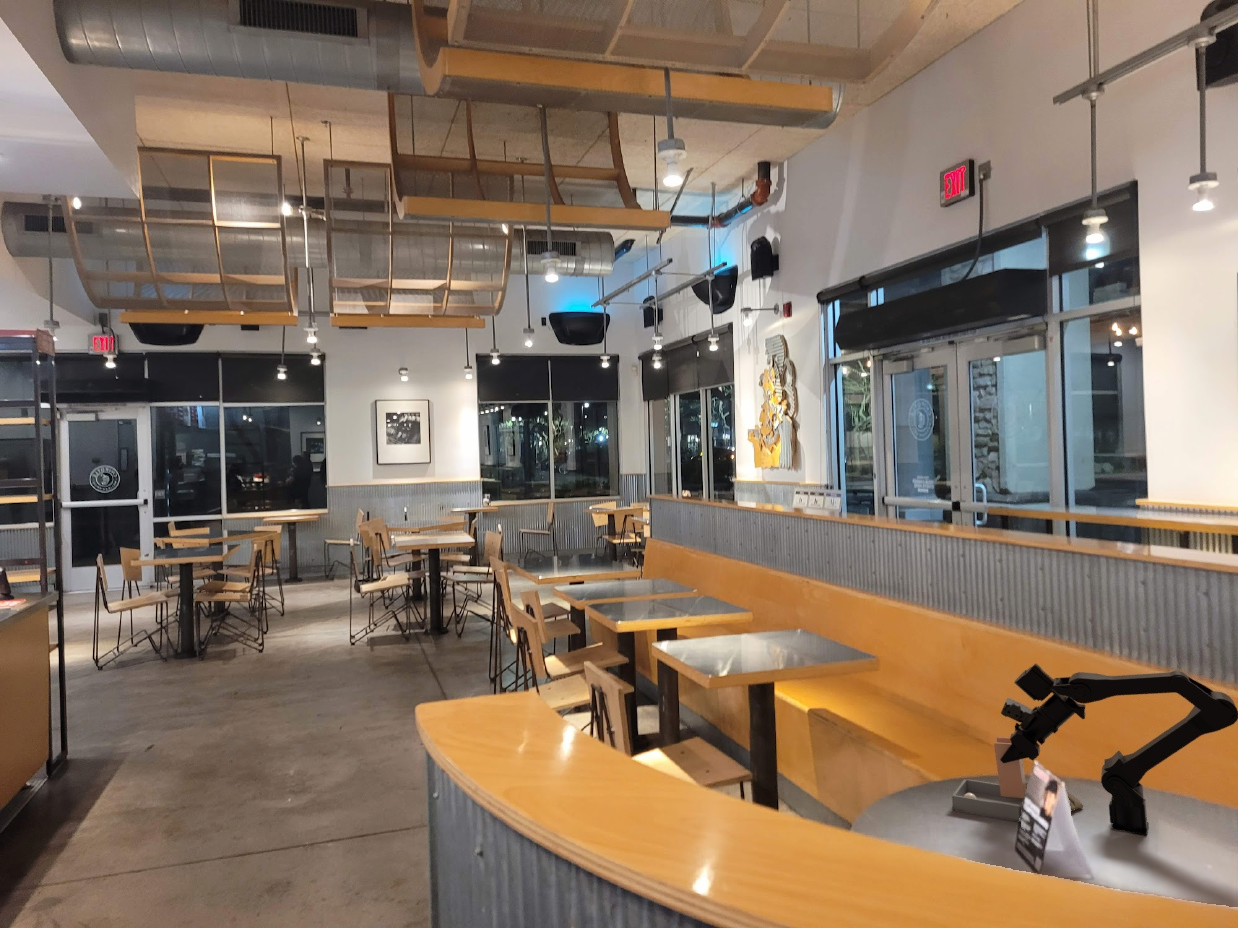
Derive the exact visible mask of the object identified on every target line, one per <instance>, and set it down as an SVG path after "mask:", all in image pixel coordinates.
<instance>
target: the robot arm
mask: <svg viewBox="0 0 1238 928" xmlns="http://www.w3.org/2000/svg"><path fill="white" fill-rule="evenodd" d="M1013 683H1014V685H1016V686H1017V687H1018V688H1019V689H1021V691H1023V692H1024V693H1025V694H1026V695H1027V697H1029V698H1031V699H1032V700H1033V702H1034V701H1037V702H1039V701H1040V702H1043V701H1044V702H1043V703H1042V704H1041V705H1038V706H1035V707H1033V708H1030V707H1029V706H1027V705H1025V704H1024V703H1021V702H1018V701H1016V700H1015V699H1012V698H1010V697H1009V698H1008V697H1007V698H1006V700H1005V702H1004V704H1003V707H1002V709H1001V711H1000V714H1001V716H1004V717H1005V718H1006V717H1007V718H1010V719H1012V720H1013V721H1015V722H1016V723H1015V725H1014V732H1013V733H1011V734H1010V740H1011V745H1010V746H1009V748H1008V749H1007V751H1006V752H1005V753H1004V755H1003V756H1002V758H1001V759H1000V760H1001V761H1002V762H1003V763H1008V762H1012V761H1016V760H1020V759H1022V760H1023V759H1024V760H1025V759H1029V760H1031V761H1034V760H1035V759H1037V758H1038V757H1039V756H1040V752H1041V746H1042V745H1043V744H1045V742H1046V740H1047V739H1048V738H1049V737H1051V735H1052V734H1056V733H1057V732H1058V731H1059V728H1060V727H1061V726H1063V725H1064V724H1065V723H1066V722H1067V721H1068V720H1069V719H1071V717H1073V716H1074V715H1077V716H1078V717H1079V718H1081V719H1082V720H1085V719H1086V715H1087V714H1086V711H1085V710H1086V704H1090V703H1094V702H1096V703H1097V702H1100V701H1103V700H1106V699H1108V698H1112V697H1116V696H1117V697H1119V696H1133V695H1134V696H1136V695H1154V694H1170V693H1171V694H1173V693H1174V694H1178V695H1179V696H1181V697H1183V698H1184V700H1186V701H1188V702H1189V703H1190V704H1191V705H1192V706H1193V707H1192V709H1191V711H1190V712H1188V714H1187V716H1184V718H1183V719H1181V720H1180V721H1178V722H1177V723H1176V724H1174V725H1173V726H1171V727H1169V728H1168V729H1166V730H1165V731H1163V732H1162V733H1161V734H1159V735H1158V736H1156V737H1154V738H1153V739H1151V740H1150V741H1149V742H1147V743H1146V744H1145V745H1143V746H1142V747H1140V748H1139V749H1137V750H1136V751H1134V752H1132V753H1130V754H1125V755H1124V754H1122V752H1121V750H1118V751H1116V752H1115V754H1113V756H1111V757H1109V758H1105V759H1104V763H1103V765H1102V767H1101V774H1100V775H1101V777H1100V781H1101V785H1102V787H1103V789H1104V791H1106V792H1107V793H1108V794H1110V795H1111V799H1110V801H1109V804H1108V814H1109V822H1110V824H1112V825H1111V828H1112V830H1115V831H1120V832H1121V831H1122V832H1127V833H1133V834H1139V835H1143V836H1147V835H1148V831H1149V825H1150V824H1149V822H1148V816H1147V815H1148V814H1147V802H1146V799H1145V798H1144V788H1143V787H1144V786H1143V784H1141V783H1140V782H1141V780H1142V779H1143V778H1144V776H1145V775H1146V773H1148V771H1150V770H1151V769H1153V768H1155V767H1156V766H1157V765H1160V764H1161V763H1162V762H1164V761H1165V760H1167V759H1168V758H1169V757H1171V756H1173V755H1174V754H1176V753H1177V752H1179V751H1180V750H1181V749H1184V748H1185V747H1187V746H1188V745H1190V743H1192V742H1193V741H1195V740H1196V739H1199V737H1201V736H1203V735H1208V734H1210V733H1211V734H1212V733H1215V732H1218V731H1221V730H1223V729H1226V728H1228V727H1231V726H1233V725H1235V723H1237V722H1238V708H1237V706H1236V704H1235V702H1234V700H1233V699H1232V698H1231V696H1230V695H1228V694H1226V693H1224V692H1221V691H1214V690H1213V689H1211V688H1210V687H1208V686H1206V685H1205V684H1203V683H1201V682H1199V681H1197V680H1195V679H1193V678H1192V677H1190V676H1188V674H1186V673H1185V672H1183V671H1180V670H1173V671H1171V672H1169V671H1167V672H1157V673H1155V672H1154V673H1139V674H1138V673H1137V674H1127V675H1125V674H1123V675H1106V674H1101V673H1095V672H1085V671H1084V672H1083V671H1079V672H1078V671H1077V672H1075V673H1073V674H1072V675H1071V676H1064V677H1054V678H1053V677H1051V676H1050V675H1049V674H1048V673H1047V672H1046V671H1044V670H1043V668H1042V667H1041V666H1040V665H1039V664H1037V663H1034V664H1033V665H1032V666H1030V667H1029V668H1027V669H1024V670H1023V672H1021V674H1019V675H1018V677H1016V679H1015V680H1014V682H1013ZM1050 694H1052V695H1051V696H1050V697H1049V698H1048V696H1049V695H1050ZM1046 698H1047V700H1046V701H1045V699H1046Z"/></svg>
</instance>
